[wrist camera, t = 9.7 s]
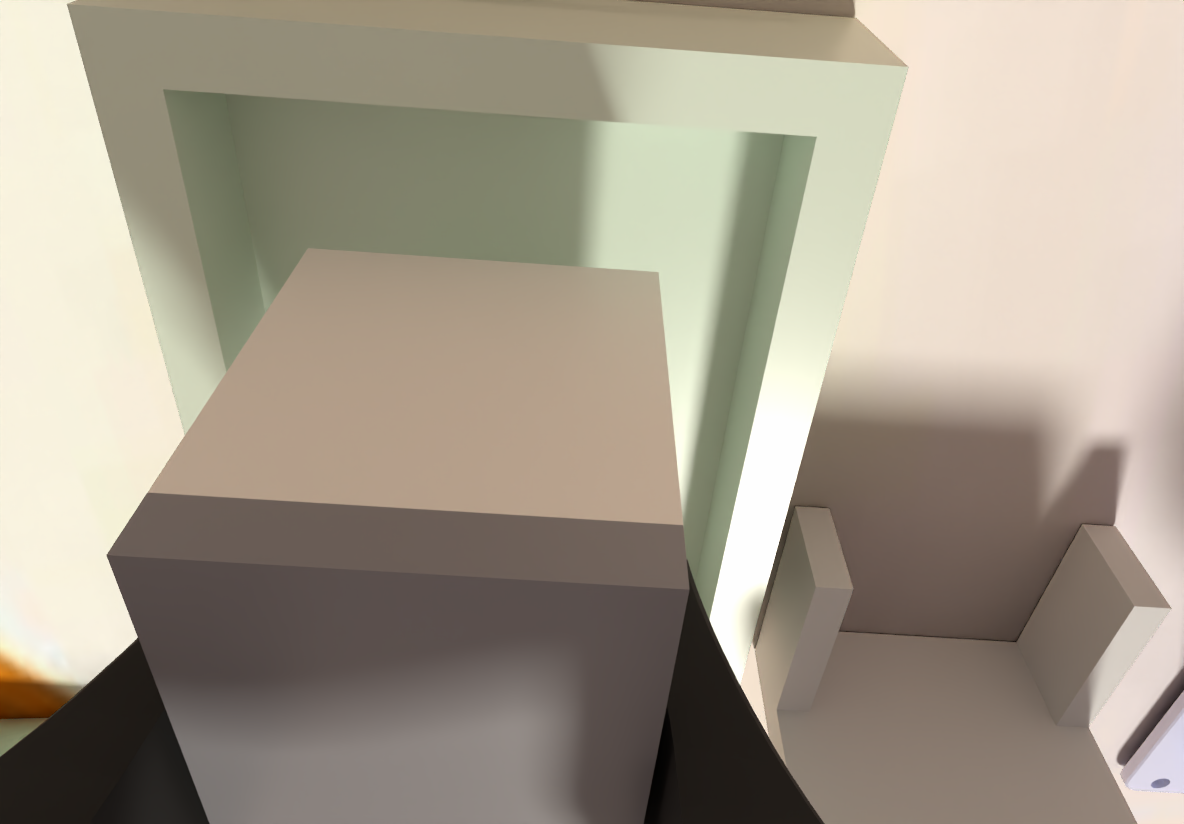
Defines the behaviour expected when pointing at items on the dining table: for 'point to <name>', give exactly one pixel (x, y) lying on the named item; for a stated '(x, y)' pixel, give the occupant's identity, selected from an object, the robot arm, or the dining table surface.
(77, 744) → the robot arm
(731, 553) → the tray
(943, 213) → the dining table surface
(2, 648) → the dining table surface
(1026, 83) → the dining table surface
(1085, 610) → the dock
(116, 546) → the tall grey beige-topped block
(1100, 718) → the dining table surface
